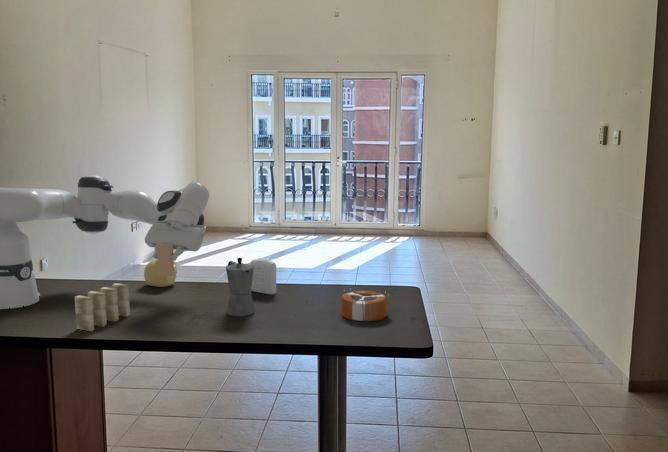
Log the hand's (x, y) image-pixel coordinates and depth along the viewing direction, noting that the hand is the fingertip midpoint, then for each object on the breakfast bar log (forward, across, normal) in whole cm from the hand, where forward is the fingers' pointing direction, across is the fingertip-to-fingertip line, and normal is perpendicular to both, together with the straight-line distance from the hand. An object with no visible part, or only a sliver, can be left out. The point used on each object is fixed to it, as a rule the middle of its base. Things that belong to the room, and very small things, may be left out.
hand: (164, 258), depth 184 cm
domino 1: (+29, +10, +5) cm, 31 cm away
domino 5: (+3, 0, -4) cm, 5 cm away
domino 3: (+22, +10, -2) cm, 24 cm away
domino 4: (+18, +10, -6) cm, 22 cm away
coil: (-3, -60, -29) cm, 66 cm away
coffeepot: (+6, -22, -19) cm, 29 cm away
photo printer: (-10, -17, -36) cm, 41 cm away
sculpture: (-5, +22, -30) cm, 38 cm away
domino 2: (+26, +10, +1) cm, 28 cm away
